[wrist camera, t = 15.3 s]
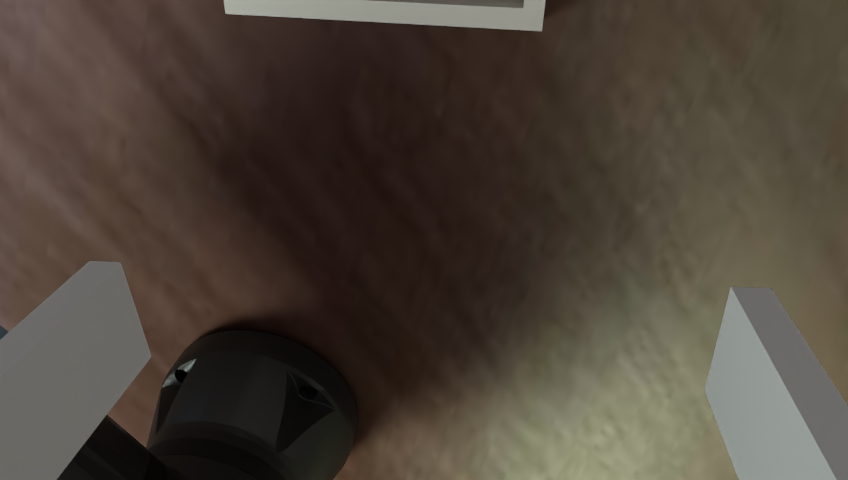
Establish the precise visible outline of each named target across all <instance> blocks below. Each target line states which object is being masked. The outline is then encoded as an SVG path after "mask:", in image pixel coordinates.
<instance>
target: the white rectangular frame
mask: <svg viewBox="0 0 848 480" xmlns="http://www.w3.org/2000/svg"><path fill="white" fill-rule="evenodd" d="M545 1H546V0H224V6H225V14H238V15H256V16H274V17H292V18H310V19H328V20H347V21H365V22H383V23H401V24H419V25H437V26H455V27H473V28H491V29H509V30H528V31H542V26H543V18H544V9H545Z"/></svg>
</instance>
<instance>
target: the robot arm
mask: <svg viewBox="0 0 848 480" xmlns="http://www.w3.org/2000/svg"><path fill="white" fill-rule="evenodd" d="M150 358H151V354H150V351H149V348H148V344H147V341H146V338H145V335H144V332H143V329H142V326H141V323H140V320H139V317H138V314H137V311H136V308H135V305H134V301H133V298H132V295H131V292H130V289H129V286H128V283H127V280H126V277H125V274H124V271H123V268H122V265H121V262H98V261H89V262H88V263H87V264H86V265H85V266H84V267H82V268H81V269H80V270H79V271H78V272H77V273H76V274H74V275H73V276H72V277H71V278H70V279H69V280H68V281H66V282H65V283H64V284H63V285H62V286H61V287H60V288H59V289H57V290H56V291H55V292H54V293H53V294H52V295H51V296H49V297H48V298H47V299H46V300H45V301H44V302H43V303H41V304H40V305H39V306H38V307H37V308H36V309H35V310H33V311H32V312H31V313H30V314H29V315H28V316H27V317H26V318H24V319H23V320H22V321H21V322H20V323H19V324H18V325H16V326H15V327H14V328H13V329H12V330H11V331H10V332H8V331H7V330H5V329H4V328H3V327H2V326H0V480H333V479H334V478H335V476H336V475H337V474H338V473H339V471H340V470H341V469H342V467H343V466H344V464H345V463H346V461H347V459H348V456H349V454H350V451H351V448H352V445H353V442H354V438H355V435H356V432H357V427H358V412H357V407H356V404H355V400H354V398H353V396H352V393H351V391H350V390H349V388H348V386H347V385H346V383H345V382H344V380H343V379H342V378H341V376H340V375H339V374H338V373H337V372H336V371H335V370H334V369H333V368H332V367H331V366H330V365H329V364H328V363H327V362H326V361H324V360H323V359H322V358H320V357H319V356H318V355H316V354H315V353H313V352H312V351H310V350H308V349H307V348H305V347H303V346H301V345H299V344H297V343H295V342H293V341H290V340H288V339H285V338H283V337H279V336H276V335H273V334H269V333H264V332H258V331H250V330H230V331H223V332H218V333H214V334H210V335H208V336H205V337H203V338H201V339H199V340H197V341H195V342H194V343H192V344H191V345H190V346H189V347H187V348H186V349H185V351H184V352H183V353H182V354H181V355H180V357H179V358H178V360H177V361H176V362H175V364H174V365H173V367H172V368H171V369H170V371H169V372H168V374H167V376H166V378H165V380H164V382H163V384H162V387H161V390H160V394H159V398H158V402H157V406H156V410H155V414H154V418H153V422H152V426H151V430H150V434H149V438H148V442H147V446H146V448H145V447H144V446H143V445H142V444H140V443H139V442H138V441H137V440H136V439H135V438H133V437H132V436H131V435H130V434H129V433H128V432H127V431H125V430H124V429H123V428H122V427H121V426H120V425H118V424H117V423H116V422H115V421H114V420H113V419H111V418H110V417H109V416H108V415H107V414H108V412H109V411H110V410H111V408H112V407H113V406H114V405H115V403H116V402H117V401H118V399H119V398H120V397H121V396H122V394H123V393H124V392H125V390H126V389H127V388H128V386H129V385H130V384H131V383H132V381H133V380H134V379H135V377H136V376H137V375H138V374H139V372H140V371H141V370H142V368H143V367H144V366H145V364H146V363H147V362H148V361H149V359H150ZM705 393H706V395H707V398H708V400H709V403H710V406H711V408H712V411H713V414H714V416H715V419H716V421H717V424H718V427H719V429H720V432H721V434H722V437H723V440H724V442H725V445H726V448H727V450H728V453H729V455H730V458H731V461H732V463H733V466H734V469H735V471H736V474H737V476H738V479H739V480H848V406H847V404H846V403H845V401H844V399H843V398H842V396H841V395H840V393H839V392H838V390H837V389H836V387H835V386H834V384H833V382H832V381H831V379H830V378H829V376H828V375H827V373H826V372H825V370H824V369H823V367H822V365H821V364H820V362H819V361H818V359H817V358H816V356H815V355H814V353H813V352H812V350H811V348H810V347H809V345H808V344H807V342H806V341H805V339H804V338H803V336H802V335H801V333H800V331H799V330H798V328H797V327H796V325H795V324H794V322H793V321H792V319H791V318H790V316H789V314H788V313H787V311H786V310H785V308H784V307H783V305H782V304H781V302H780V301H779V299H778V297H777V296H776V294H775V293H774V291H773V290H772V288H751V287H731V288H730V292H729V296H728V300H727V304H726V308H725V312H724V316H723V320H722V323H721V327H720V331H719V335H718V339H717V343H716V347H715V351H714V355H713V359H712V363H711V366H710V370H709V374H708V378H707V382H706V386H705Z"/></svg>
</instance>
